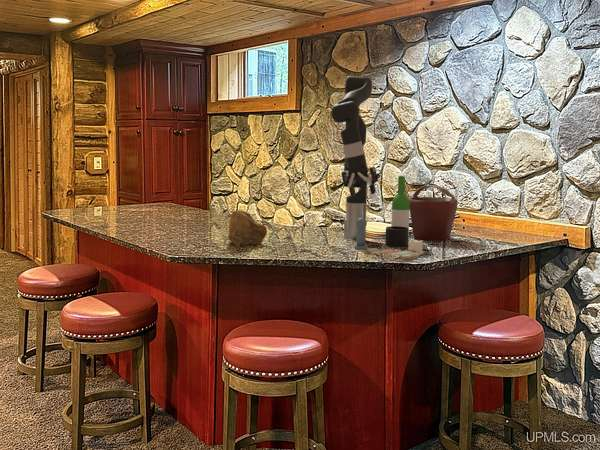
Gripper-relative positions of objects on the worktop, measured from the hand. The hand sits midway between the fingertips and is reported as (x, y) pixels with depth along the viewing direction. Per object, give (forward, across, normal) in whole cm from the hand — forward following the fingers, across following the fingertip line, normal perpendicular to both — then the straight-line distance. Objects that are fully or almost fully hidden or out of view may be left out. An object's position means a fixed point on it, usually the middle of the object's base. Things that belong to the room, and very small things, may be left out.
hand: (363, 195), depth 254 cm
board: (+26, 0, -4) cm, 26 cm away
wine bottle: (+31, +7, -34) cm, 46 cm away
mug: (+29, +2, -22) cm, 36 cm away
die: (+30, -9, -16) cm, 35 cm away
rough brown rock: (+14, +59, +6) cm, 61 cm away
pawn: (+23, +9, -4) cm, 25 cm away
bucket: (+36, +2, -56) cm, 67 cm away
